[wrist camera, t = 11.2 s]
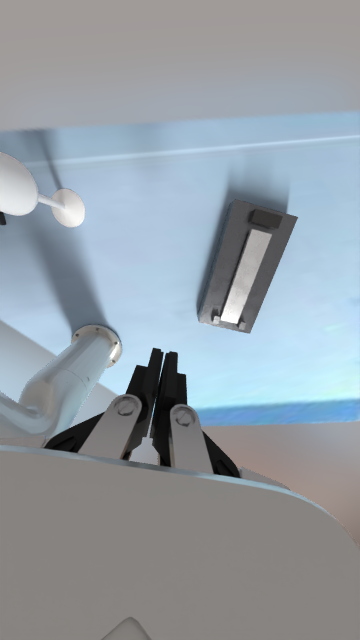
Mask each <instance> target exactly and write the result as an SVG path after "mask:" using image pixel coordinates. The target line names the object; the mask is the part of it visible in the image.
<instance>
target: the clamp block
mask: <svg viewBox="0 0 360 640" xmlns="http://www.w3.org/2000/svg"><path fill="white" fill-rule="evenodd" d="M297 218H298V217H296V216H293V215H289V214H286V213H282V212H279V211H275V210H271V209H268V208H264V207H261V206H257V205H254V204H250V203H247V202H243V201H240V200H236V199H235V200H234V201H233V202H232V203H231V204H230V205H229V208H228V212H227V215H226V219H225V222H224V226H223V229H222V233H221V236H220V240H219V243H218V247H217V250H216V253H215V257H214V260H213V264H212V267H211V271H210V274H209V278H208V281H207V285H206V288H205V292H204V295H203V299H202V302H201V306H200V309H199V312H198V316H197V317H198V321H199V323H204V324H208V325H213V326H217V327H222V328H226V329H231V330H235V331H240V332H244V333H249V334H250V332H251V329H252V327H253V324H254V322H255V320H256V317H257V315H258V312H259V310H260V308H261V305H262V303H263V300H264V298H265V296H266V293H267V291H268V288H269V286H270V284H271V281H272V279H273V276H274V274H275V271H276V269H277V267H278V264H279V262H280V259H281V257H282V255H283V252H284V250H285V247H286V245H287V243H288V240H289V238H290V235H291V233H292V230H293V228H294V226H295V223H296V221H297ZM250 229H254V230H258V231H261V232H265V233H269V234H272V236H271V238H270V241H269V244H268V246H267V249H266V251H265V254H264V256H263V259H262V261H261V264H260V266H259V269H258V272H257V274H256V277H255V279H254V282H253V284H252V287H251V289H250V292H249V295H248V297H247V300H246V302H245V305H244V307H243V310H242V312H241V315H240V318H239V320H238V323H237V324H235V323H231V322H227V321H222V320H220V315H221V312H222V309H223V306H224V304H225V301H226V298H227V295H228V292H229V289H230V286H231V283H232V280H233V278H234V275H235V272H236V269H237V266H238V263H239V260H240V257H241V254H242V252H243V249H244V246H245V243H246V240H247V237H248V234H249V231H250Z"/></svg>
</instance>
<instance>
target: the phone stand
mask: <svg viewBox="0 0 360 640" xmlns="http://www.w3.org/2000/svg"><path fill="white" fill-rule="evenodd" d="M0 225H6V221H5V217H4V213H3V212H1V211H0Z"/></svg>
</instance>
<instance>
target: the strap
mask: <svg viewBox="0 0 360 640" xmlns="http://www.w3.org/2000/svg"><path fill="white" fill-rule="evenodd" d="M271 236H272V234H269V233H265V232H261V231H258V230H254V229H250V231H249V234H248V237H247V240H246V243H245V246H244V249H243V252H242V254H241V257H240V260H239V263H238V266H237V269H236V272H235V275H234V278H233V280H232V283H231V286H230V289H229V292H228V295H227V298H226V301H225V304H224V306H223V309H222V312H221V315H220V320H222V321H227V322H231V323H235V324H237V323H238V320H239V318H240V315H241V312H242V310H243V307H244V305H245V302H246V300H247V297H248V295H249V292H250V289H251V287H252V284H253V282H254V279H255V277H256V274H257V272H258V269H259V266H260V264H261V261H262V259H263V256H264V254H265V251H266V249H267V246H268V244H269V241H270V238H271Z"/></svg>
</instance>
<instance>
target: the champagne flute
mask: <svg viewBox="0 0 360 640" xmlns="http://www.w3.org/2000/svg"><path fill="white" fill-rule="evenodd" d="M38 202H41V203H44V204H47V205H50V206H51V209H52V212H53V214H54V216H55V218H56V219H57V220H58V221H59V222H60V223H61V224H62V225H64V226H67V227H76V226H79V225H80V224H81V223H82V222H83V220H84V217H85V207H84V204H83V202H82V200H81V198H80V197H79V196H78V195H77V194H76V193H75V192H74V191H72V190H69V189H60V190H57V191H56V192H55V193H54V194H53V196H52V198H49V197H47V196H44V195H42V194H39V193H38V188H37V185H36V182H35V180H34V178H33V177H32V175H31V173H30V172H29V171H28V169H27V168H26V167H25V166H24V165H23V164H22V163H21V162H19V161H18V160H17V159H15V158H13V157H11V156H9V155H7V154H5V153H3V152H0V211H1V212H4V213H7V214H11V215H16V216H21V215H26V214H28V213H30V212H31V211H32V210H34V208H35V207H36V205H37V203H38Z"/></svg>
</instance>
